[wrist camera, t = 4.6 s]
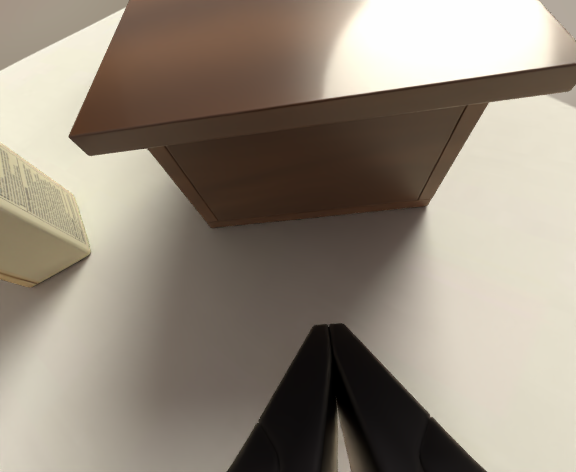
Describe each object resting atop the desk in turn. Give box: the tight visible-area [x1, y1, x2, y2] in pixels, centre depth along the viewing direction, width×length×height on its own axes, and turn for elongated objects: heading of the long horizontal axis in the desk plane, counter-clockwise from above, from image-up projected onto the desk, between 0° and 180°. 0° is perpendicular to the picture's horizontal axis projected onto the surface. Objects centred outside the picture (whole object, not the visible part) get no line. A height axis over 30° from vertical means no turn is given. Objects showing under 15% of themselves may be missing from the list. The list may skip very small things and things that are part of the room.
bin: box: [147, 102, 489, 228], centre depth 15 cm, size 9×14×9 cm, turn 92°
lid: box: [69, 0, 576, 156], centre depth 10 cm, size 12×14×1 cm
